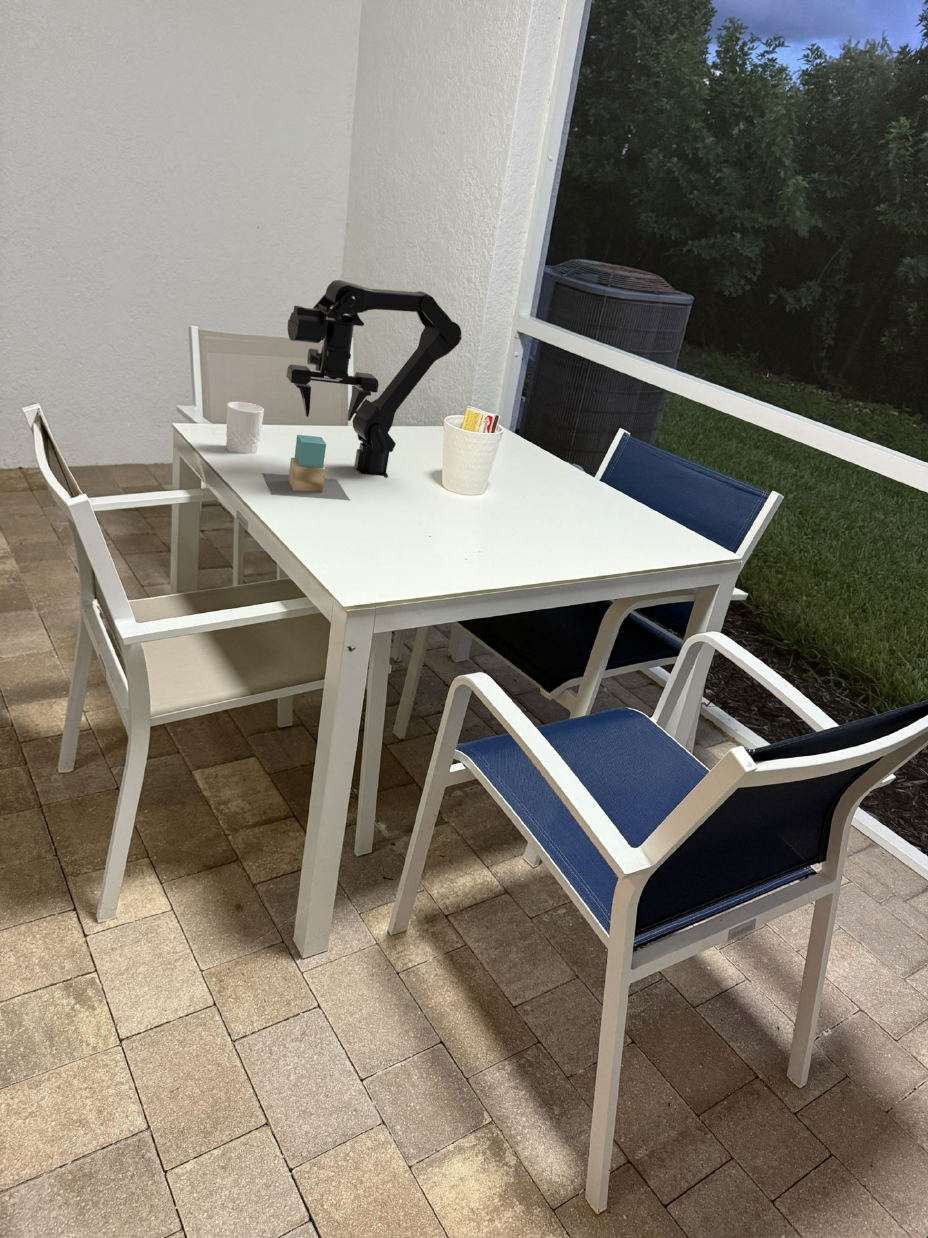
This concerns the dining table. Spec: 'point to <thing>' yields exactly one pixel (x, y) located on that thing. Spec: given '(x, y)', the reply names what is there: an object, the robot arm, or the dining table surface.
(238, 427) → the white cup
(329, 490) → the build board
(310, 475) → the oak base block
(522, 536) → the dining table surface
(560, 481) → the dining table surface
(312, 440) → the teal cube
